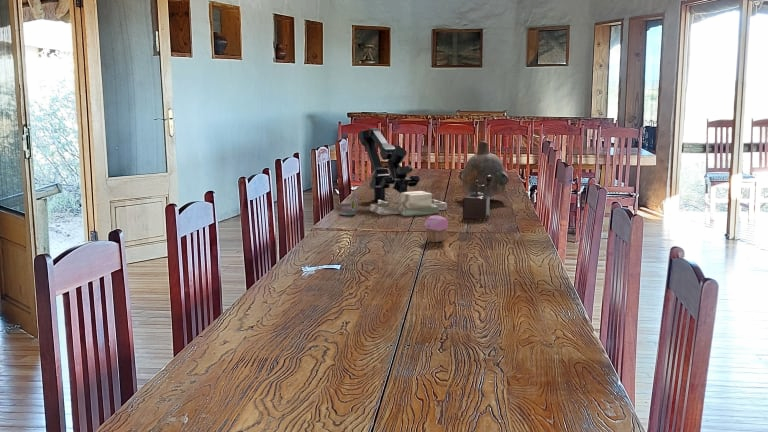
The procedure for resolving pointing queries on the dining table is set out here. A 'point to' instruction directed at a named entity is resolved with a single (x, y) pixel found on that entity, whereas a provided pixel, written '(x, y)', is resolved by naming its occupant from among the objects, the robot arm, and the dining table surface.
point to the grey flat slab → (385, 209)
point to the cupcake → (436, 228)
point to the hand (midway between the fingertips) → (406, 196)
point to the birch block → (416, 199)
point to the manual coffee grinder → (477, 202)
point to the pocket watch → (352, 204)
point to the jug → (484, 172)
